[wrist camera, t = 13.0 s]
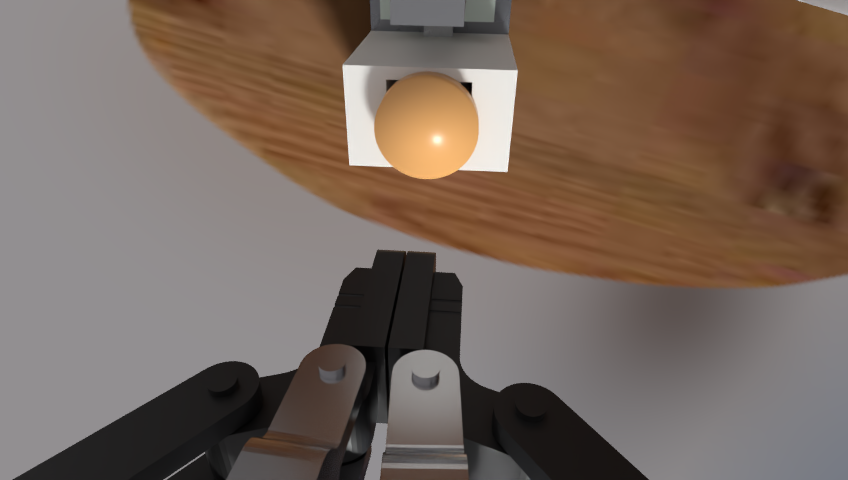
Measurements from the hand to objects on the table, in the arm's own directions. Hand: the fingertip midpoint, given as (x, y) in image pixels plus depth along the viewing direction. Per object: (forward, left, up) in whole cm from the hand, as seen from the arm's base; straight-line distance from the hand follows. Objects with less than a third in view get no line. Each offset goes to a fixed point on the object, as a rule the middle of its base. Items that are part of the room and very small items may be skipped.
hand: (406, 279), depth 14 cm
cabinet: (+1, 0, -22) cm, 22 cm away
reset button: (+1, 0, -19) cm, 19 cm away
